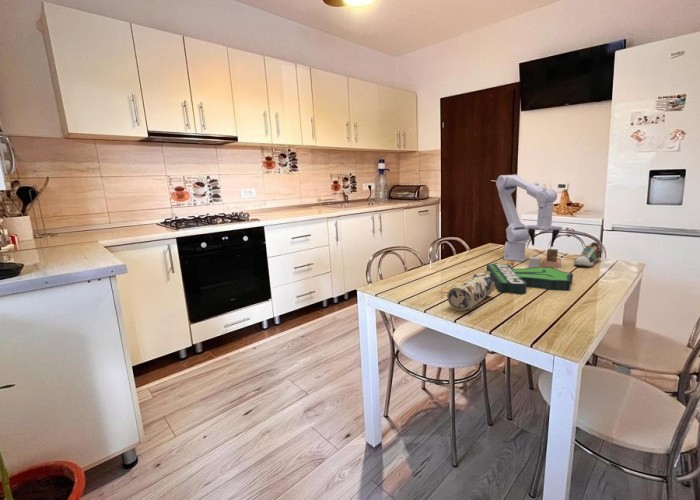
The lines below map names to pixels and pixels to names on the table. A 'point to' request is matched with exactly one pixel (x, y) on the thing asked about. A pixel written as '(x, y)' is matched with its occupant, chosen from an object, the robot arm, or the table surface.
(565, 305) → the table surface
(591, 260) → the sneaker
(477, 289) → the pencil case
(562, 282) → the emblem
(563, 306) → the table surface
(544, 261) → the terracotta tile
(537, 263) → the light grey block
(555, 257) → the walnut block
